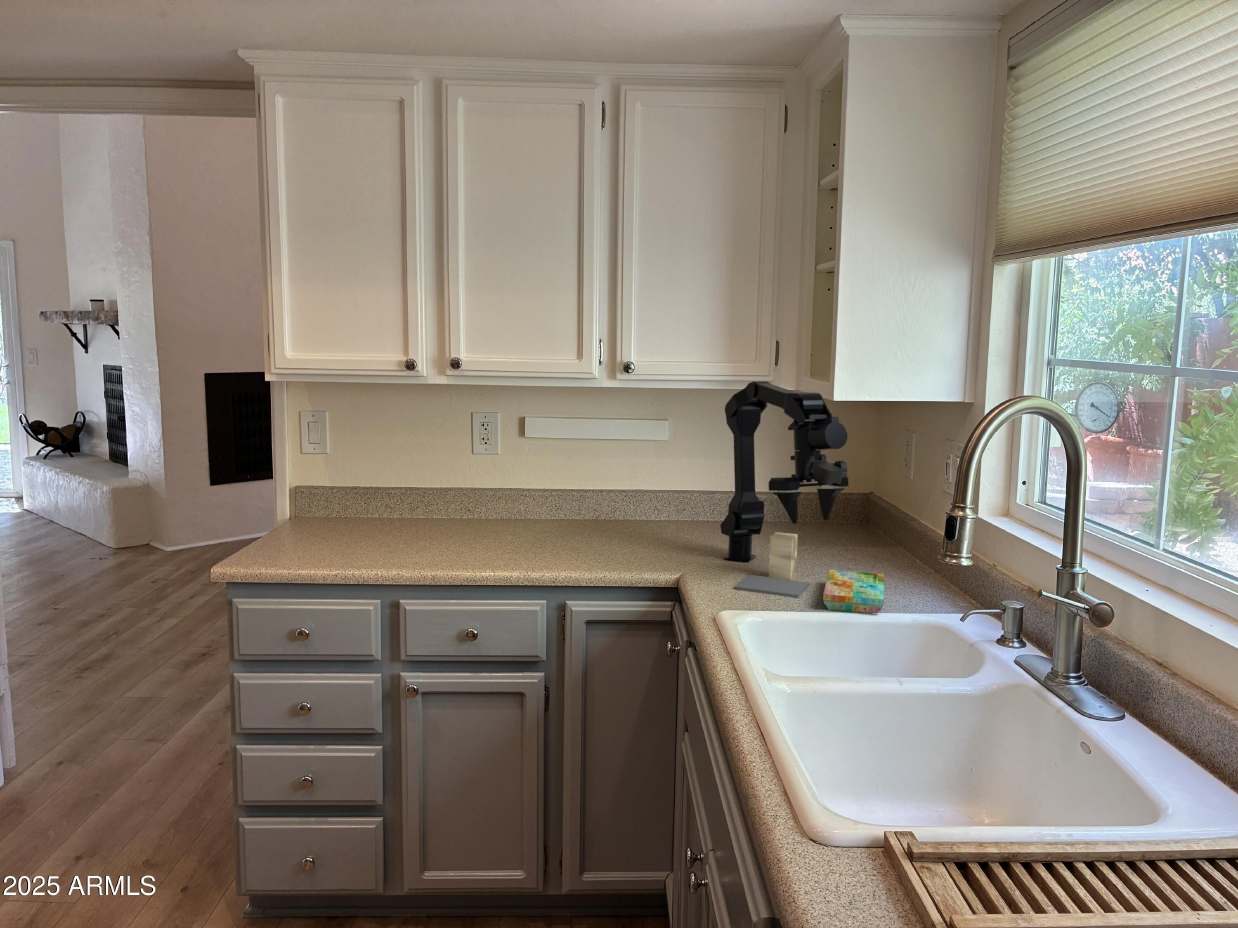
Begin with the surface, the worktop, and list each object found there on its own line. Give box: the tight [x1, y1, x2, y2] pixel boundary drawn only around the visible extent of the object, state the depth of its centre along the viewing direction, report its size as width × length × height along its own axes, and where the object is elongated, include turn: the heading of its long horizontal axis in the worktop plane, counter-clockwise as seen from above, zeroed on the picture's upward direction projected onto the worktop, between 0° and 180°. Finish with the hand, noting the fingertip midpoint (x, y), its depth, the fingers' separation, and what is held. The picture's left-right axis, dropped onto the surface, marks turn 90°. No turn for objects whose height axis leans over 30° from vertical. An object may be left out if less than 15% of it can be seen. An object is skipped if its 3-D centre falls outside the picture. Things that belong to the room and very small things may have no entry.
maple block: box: [768, 531, 798, 580], centre depth 210 cm, size 5×5×10 cm
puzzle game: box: [822, 569, 885, 614], centre depth 194 cm, size 12×5×20 cm
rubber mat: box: [734, 574, 811, 599], centre depth 203 cm, size 11×14×1 cm
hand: (810, 522), depth 201 cm, fingers open, 9 cm apart
